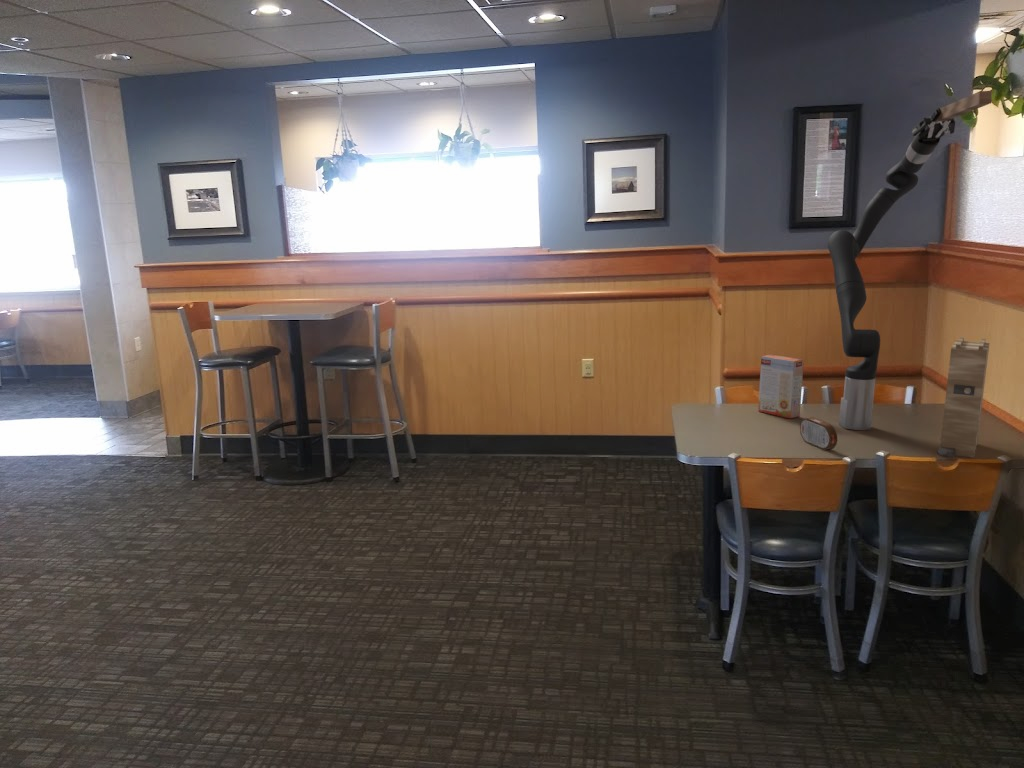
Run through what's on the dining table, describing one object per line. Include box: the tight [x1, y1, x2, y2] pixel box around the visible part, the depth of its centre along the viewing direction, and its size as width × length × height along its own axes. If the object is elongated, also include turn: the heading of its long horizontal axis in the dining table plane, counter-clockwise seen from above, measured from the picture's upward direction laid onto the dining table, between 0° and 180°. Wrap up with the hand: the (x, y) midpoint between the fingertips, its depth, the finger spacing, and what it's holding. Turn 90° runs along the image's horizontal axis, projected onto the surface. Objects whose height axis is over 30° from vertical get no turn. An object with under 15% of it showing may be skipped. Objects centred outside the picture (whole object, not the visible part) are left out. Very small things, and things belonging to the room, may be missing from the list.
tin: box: [799, 416, 838, 451], centre depth 241 cm, size 15×3×8 cm, turn 17°
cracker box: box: [757, 354, 805, 419], centre depth 277 cm, size 14×6×21 cm, turn 34°
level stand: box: [937, 336, 990, 458], centre depth 231 cm, size 22×9×33 cm, turn 147°
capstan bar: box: [935, 90, 993, 123], centre depth 237 cm, size 24×4×4 cm, turn 0°
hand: (946, 109), depth 246 cm, fingers closed on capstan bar, 3 cm apart
